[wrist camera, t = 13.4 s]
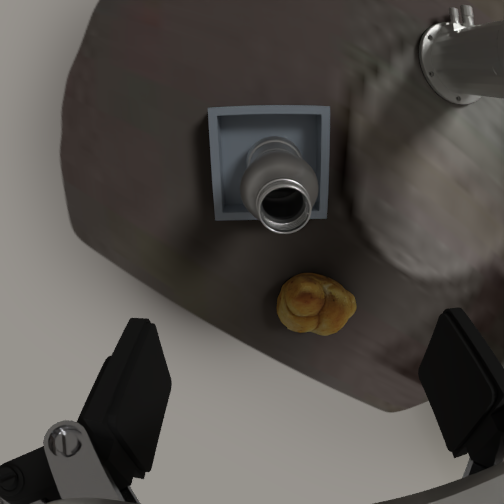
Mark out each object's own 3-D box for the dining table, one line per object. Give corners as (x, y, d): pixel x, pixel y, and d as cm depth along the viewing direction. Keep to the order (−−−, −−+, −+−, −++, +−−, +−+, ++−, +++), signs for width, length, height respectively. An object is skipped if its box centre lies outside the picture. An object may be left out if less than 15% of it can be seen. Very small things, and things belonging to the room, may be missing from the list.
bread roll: (363, 284, 49) (378, 315, 41) (333, 328, 53) (341, 361, 46) (292, 256, 47) (297, 285, 39) (264, 305, 51) (265, 339, 43)
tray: (212, 107, 37) (207, 108, 34) (323, 105, 37) (330, 106, 33) (218, 210, 43) (215, 220, 40) (321, 208, 43) (326, 218, 39)
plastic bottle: (300, 181, 41) (333, 249, 23) (248, 184, 41) (240, 255, 23) (298, 132, 38) (334, 161, 20) (244, 135, 38) (230, 167, 20)
